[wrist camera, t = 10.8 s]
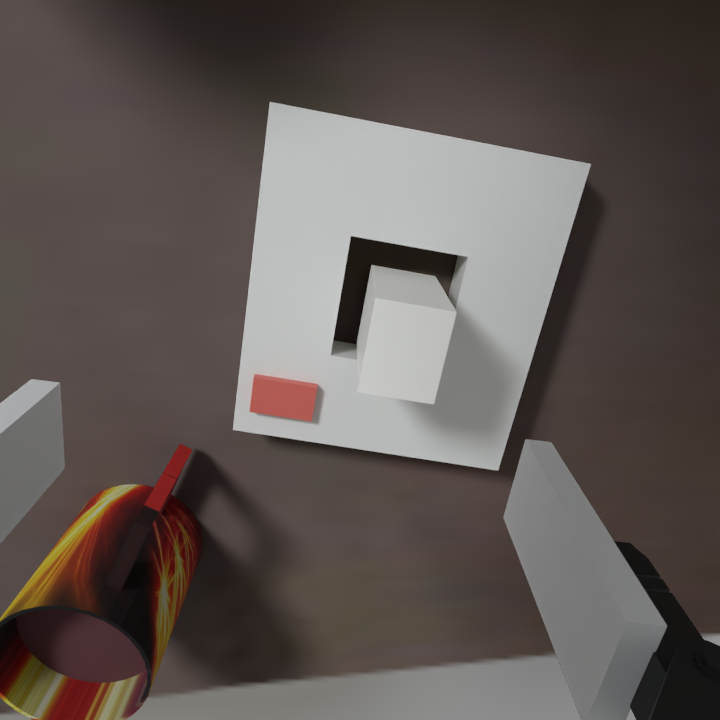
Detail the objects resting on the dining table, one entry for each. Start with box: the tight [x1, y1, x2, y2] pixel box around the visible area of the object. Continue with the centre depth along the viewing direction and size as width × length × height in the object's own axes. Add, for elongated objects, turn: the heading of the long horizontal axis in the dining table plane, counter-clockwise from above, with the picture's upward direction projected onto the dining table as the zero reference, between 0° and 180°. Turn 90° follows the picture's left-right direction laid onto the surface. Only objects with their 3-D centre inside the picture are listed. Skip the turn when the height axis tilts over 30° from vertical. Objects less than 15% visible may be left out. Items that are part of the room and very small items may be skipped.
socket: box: [233, 102, 591, 471], centre depth 36 cm, size 20×18×4 cm
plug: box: [357, 265, 457, 405], centre depth 33 cm, size 5×4×10 cm
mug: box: [0, 444, 203, 720], centre depth 38 cm, size 10×14×12 cm
